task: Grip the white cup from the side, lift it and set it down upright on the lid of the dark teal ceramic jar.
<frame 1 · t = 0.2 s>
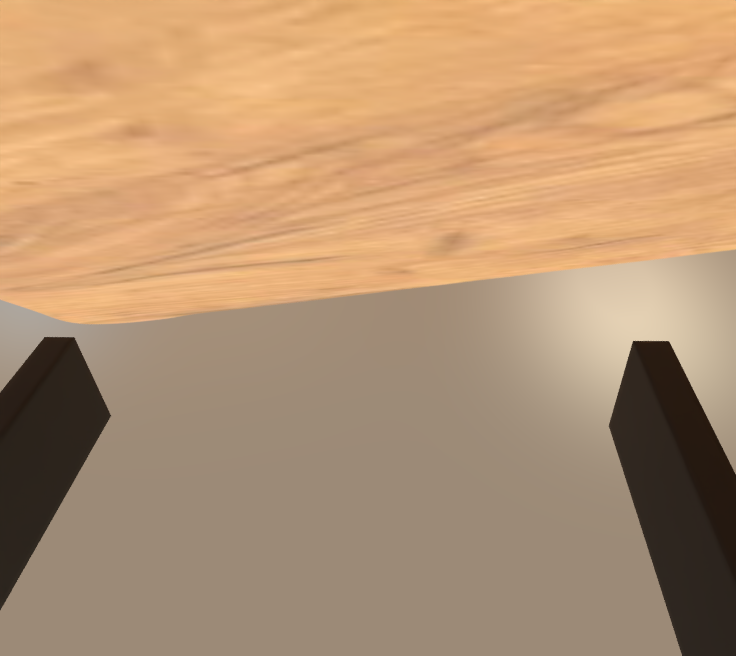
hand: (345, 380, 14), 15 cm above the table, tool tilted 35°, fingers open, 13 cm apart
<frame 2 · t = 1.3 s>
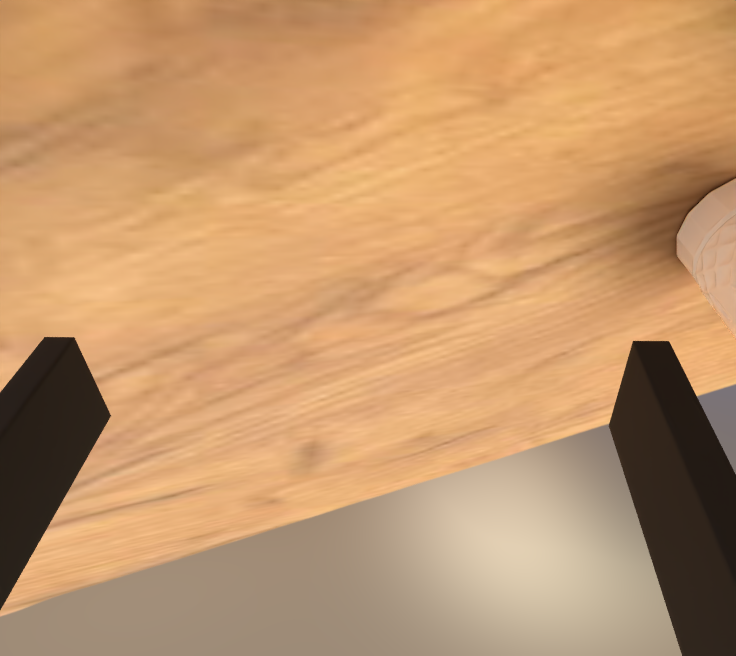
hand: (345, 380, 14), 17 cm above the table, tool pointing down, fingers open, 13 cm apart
white cup: (729, 222, 35), on the table
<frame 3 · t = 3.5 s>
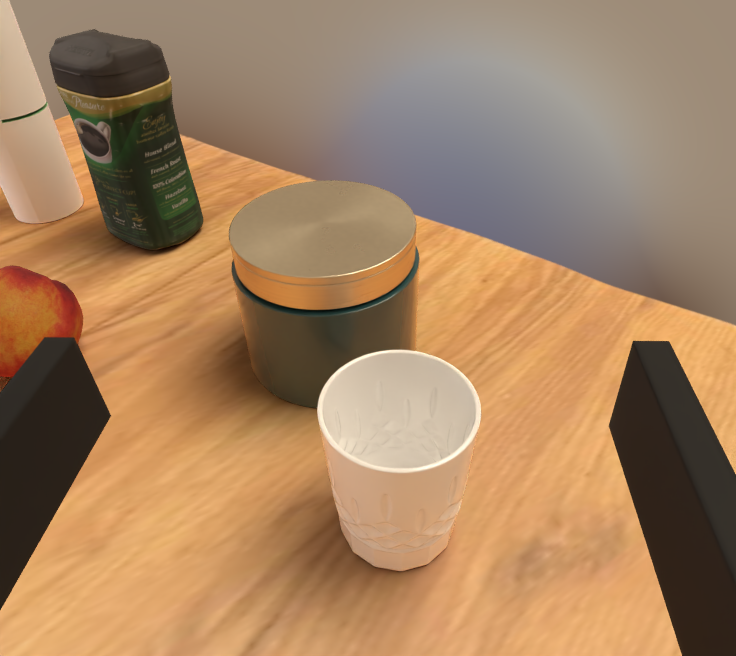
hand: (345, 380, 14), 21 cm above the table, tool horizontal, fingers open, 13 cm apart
white cup: (397, 519, 35), on the table
jar lid: (323, 230, 40), point 11 cm above the table, screwed on, not yet turned
coffee jar: (158, 231, 61), on the table
jar: (333, 347, 47), on the table
cylindrical container: (50, 208, 65), on the table
fruit: (47, 362, 46), on the table
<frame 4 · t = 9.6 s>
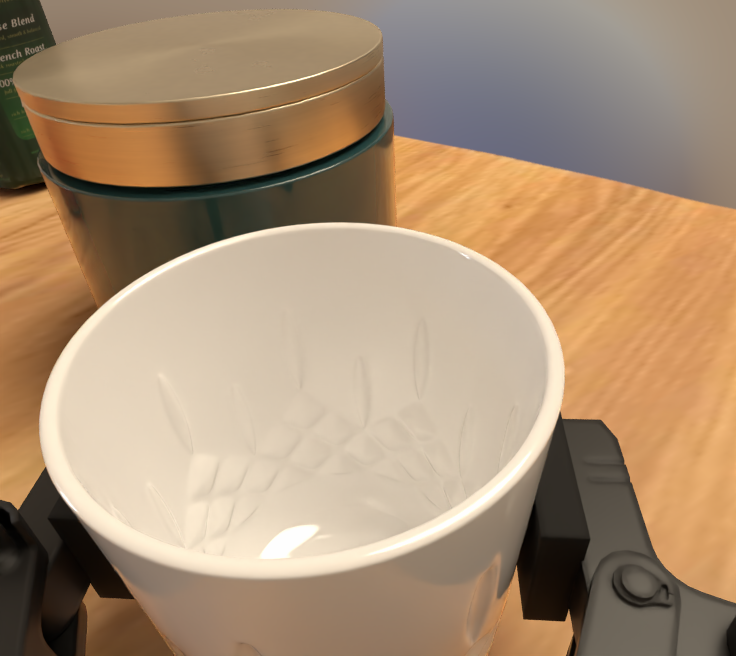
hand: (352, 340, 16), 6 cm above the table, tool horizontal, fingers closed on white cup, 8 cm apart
white cup: (351, 638, 16), on the table, touching gripper
jar lid: (208, 63, 21), point 11 cm above the table, screwed on, not yet turned
coffee jar: (33, 170, 43), on the table
jar: (259, 304, 28), on the table
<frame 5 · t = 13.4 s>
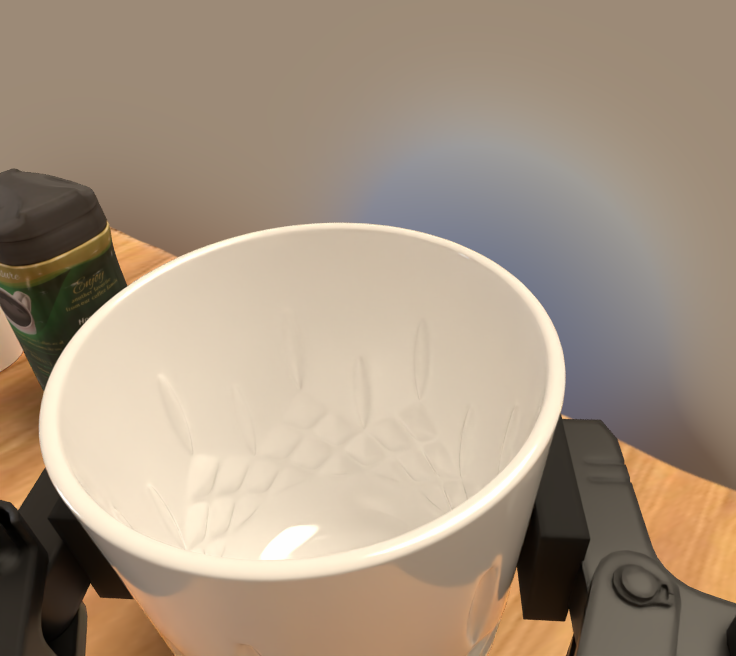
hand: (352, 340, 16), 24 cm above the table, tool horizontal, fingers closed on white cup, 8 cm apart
white cup: (351, 638, 16), point 17 cm above the table, touching gripper
coffee jar: (108, 390, 50), on the table
when the fingers open (17 cm above the table, at t = 17.5 s): white cup stays where it is, resting on jar lid.
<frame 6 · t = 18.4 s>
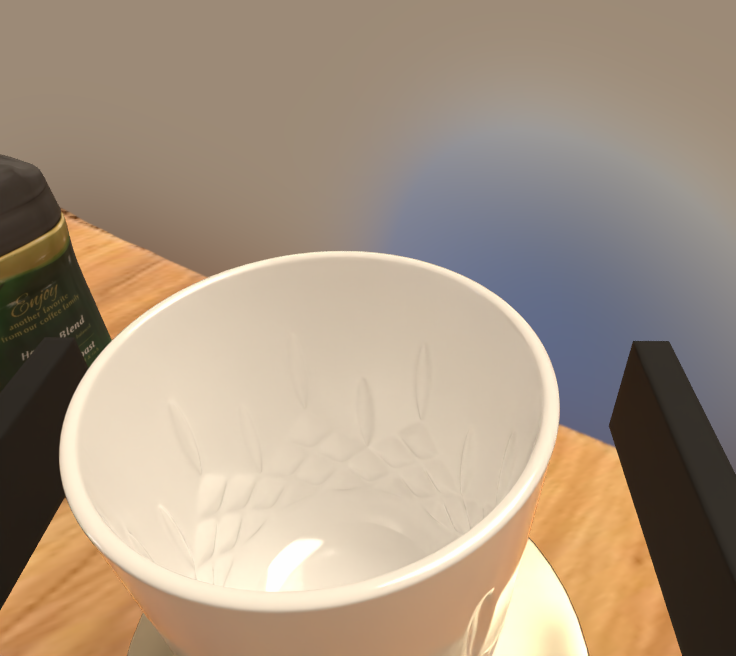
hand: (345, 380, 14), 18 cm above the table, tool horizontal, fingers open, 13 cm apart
white cup: (355, 650, 16), point 11 cm above the table, touching jar lid
jar lid: (354, 655, 16), point 11 cm above the table, screwed on, not yet turned, touching white cup
coffee jar: (74, 438, 38), on the table
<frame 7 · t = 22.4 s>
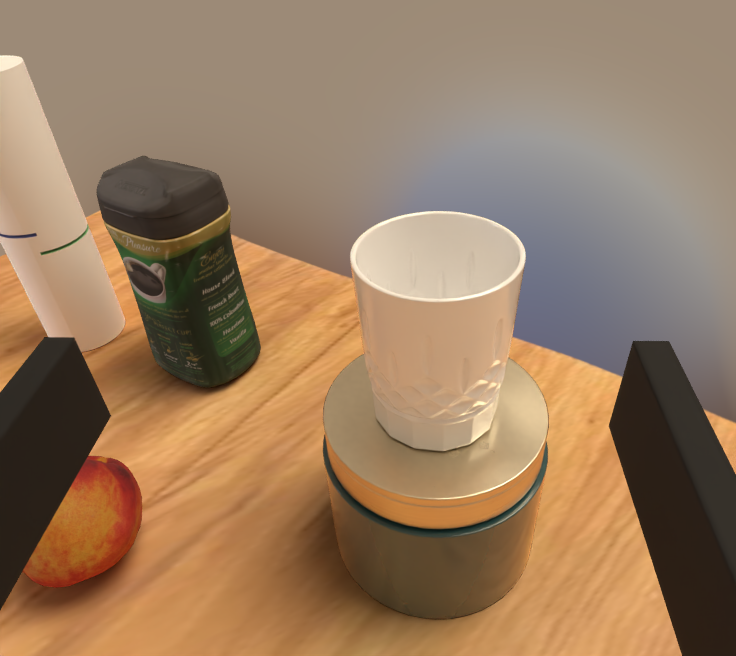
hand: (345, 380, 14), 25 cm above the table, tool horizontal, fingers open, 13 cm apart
white cup: (434, 408, 33), point 11 cm above the table, touching jar lid
jar lid: (433, 413, 33), point 11 cm above the table, screwed on, not yet turned, touching white cup
coffee jar: (210, 359, 55), on the table
jar: (432, 522, 40), on the table
cylindrical container: (89, 331, 60), on the table
fruit: (100, 551, 40), on the table
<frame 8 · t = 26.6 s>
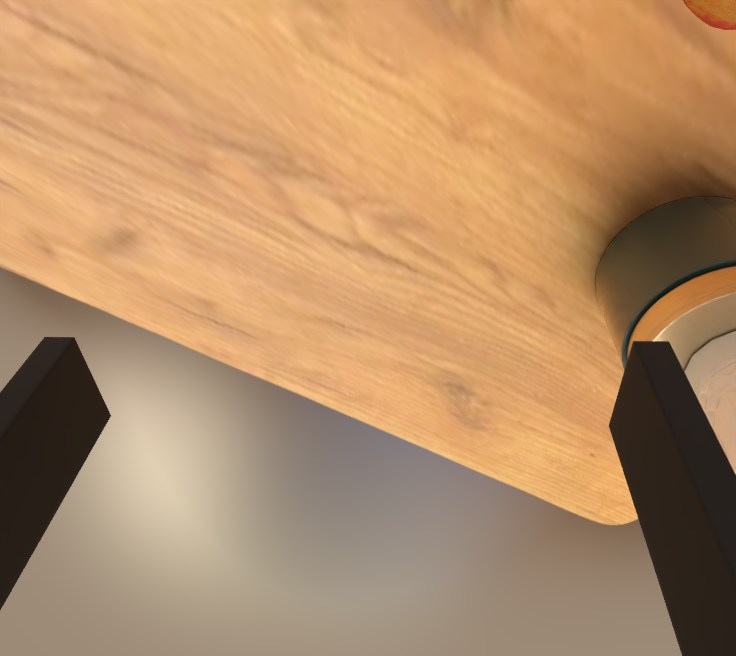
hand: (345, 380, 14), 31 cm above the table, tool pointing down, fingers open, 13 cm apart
jar lid: (735, 360, 38), point 11 cm above the table, screwed on, not yet turned, touching white cup
jar: (681, 271, 47), on the table
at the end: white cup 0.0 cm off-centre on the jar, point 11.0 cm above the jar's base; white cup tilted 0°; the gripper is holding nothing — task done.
